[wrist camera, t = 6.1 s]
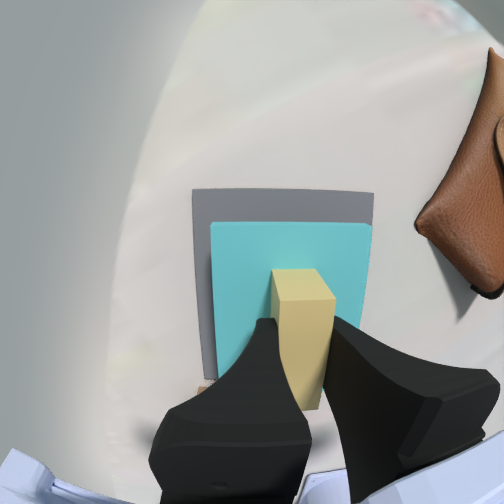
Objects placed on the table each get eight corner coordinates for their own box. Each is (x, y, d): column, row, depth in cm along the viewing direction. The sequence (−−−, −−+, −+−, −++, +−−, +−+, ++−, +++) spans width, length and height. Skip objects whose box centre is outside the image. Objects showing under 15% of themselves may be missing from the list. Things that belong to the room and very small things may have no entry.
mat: (347, 370, 17) (349, 373, 16) (205, 375, 16) (204, 378, 16) (371, 192, 14) (373, 193, 13) (193, 189, 14) (192, 189, 13)
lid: (341, 379, 14) (362, 427, 11) (221, 384, 14) (215, 438, 10) (365, 223, 12) (408, 243, 8) (212, 221, 12) (198, 243, 8)
